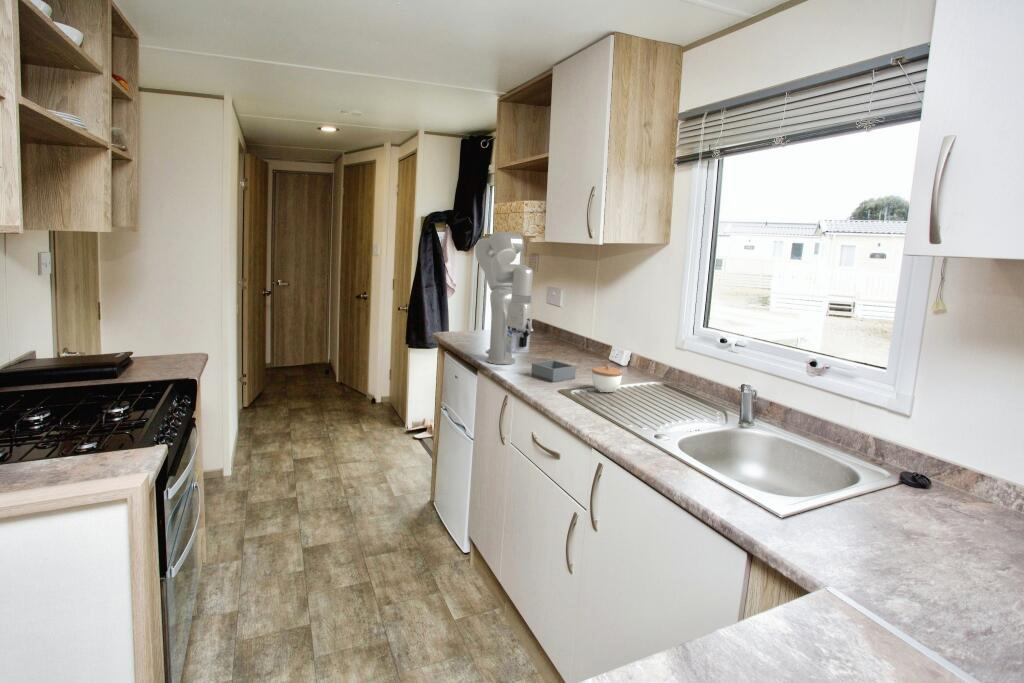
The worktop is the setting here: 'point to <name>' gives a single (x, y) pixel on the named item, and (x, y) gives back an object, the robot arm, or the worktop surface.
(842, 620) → the worktop surface
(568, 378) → the bin
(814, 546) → the worktop surface
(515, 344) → the medicine box
